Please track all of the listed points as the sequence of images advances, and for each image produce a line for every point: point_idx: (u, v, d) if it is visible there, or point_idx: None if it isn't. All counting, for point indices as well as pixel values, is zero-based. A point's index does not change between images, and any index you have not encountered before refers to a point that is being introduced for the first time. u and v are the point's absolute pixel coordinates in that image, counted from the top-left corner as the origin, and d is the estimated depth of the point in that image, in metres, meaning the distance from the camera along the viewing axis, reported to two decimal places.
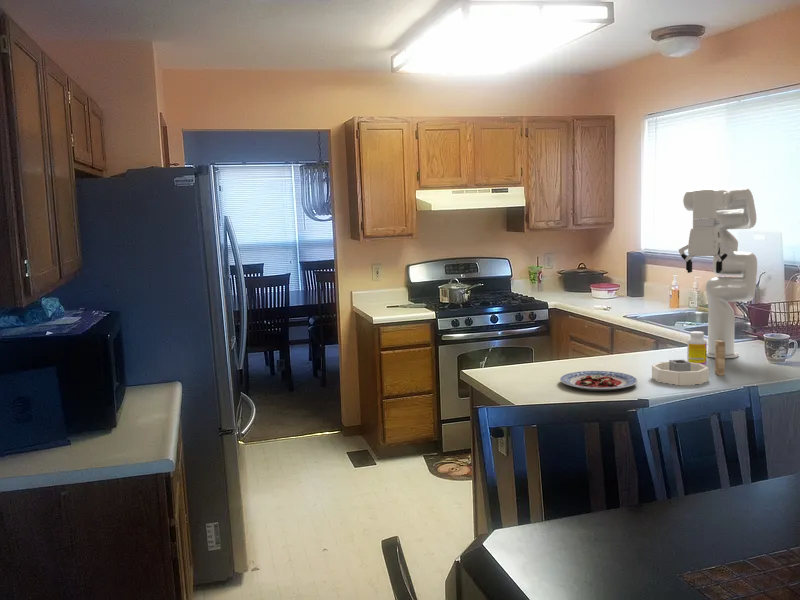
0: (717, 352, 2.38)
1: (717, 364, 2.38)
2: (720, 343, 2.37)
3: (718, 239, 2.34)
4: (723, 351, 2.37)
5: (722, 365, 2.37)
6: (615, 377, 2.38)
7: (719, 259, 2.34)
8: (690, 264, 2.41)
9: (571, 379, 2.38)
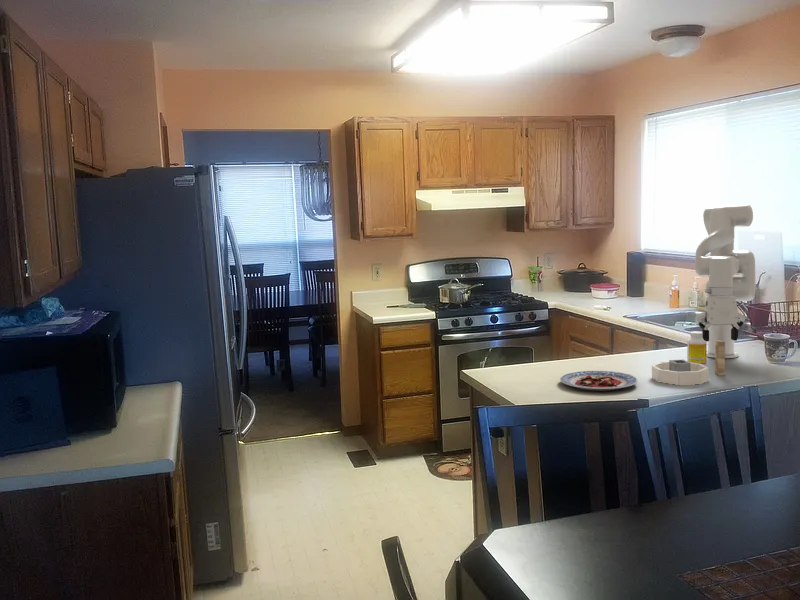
0: (717, 352, 2.38)
1: (717, 364, 2.38)
2: (720, 343, 2.37)
3: (705, 307, 2.37)
4: (723, 351, 2.37)
5: (722, 365, 2.37)
6: (615, 377, 2.38)
7: None
8: (732, 331, 2.37)
9: (571, 379, 2.38)
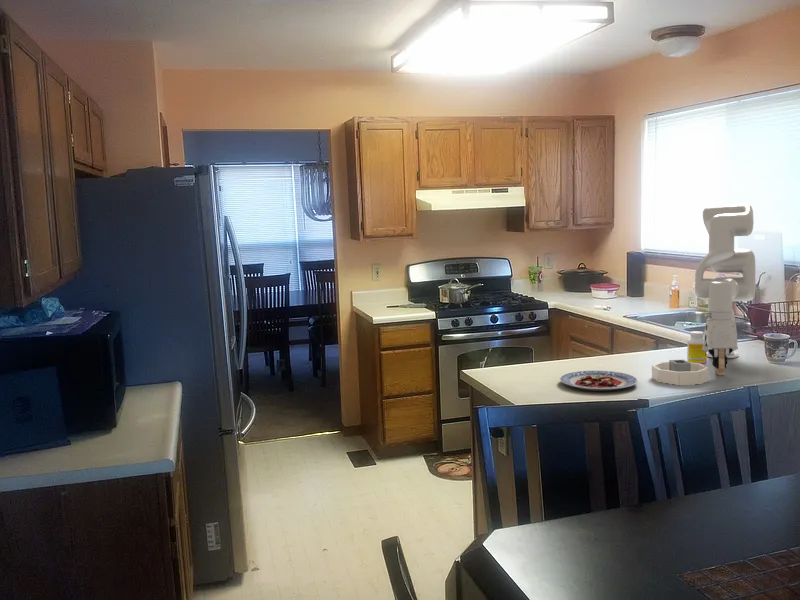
0: None
1: None
2: None
3: (705, 331, 2.38)
4: (723, 351, 2.37)
5: (722, 365, 2.37)
6: (615, 377, 2.38)
7: None
8: None
9: (571, 379, 2.38)
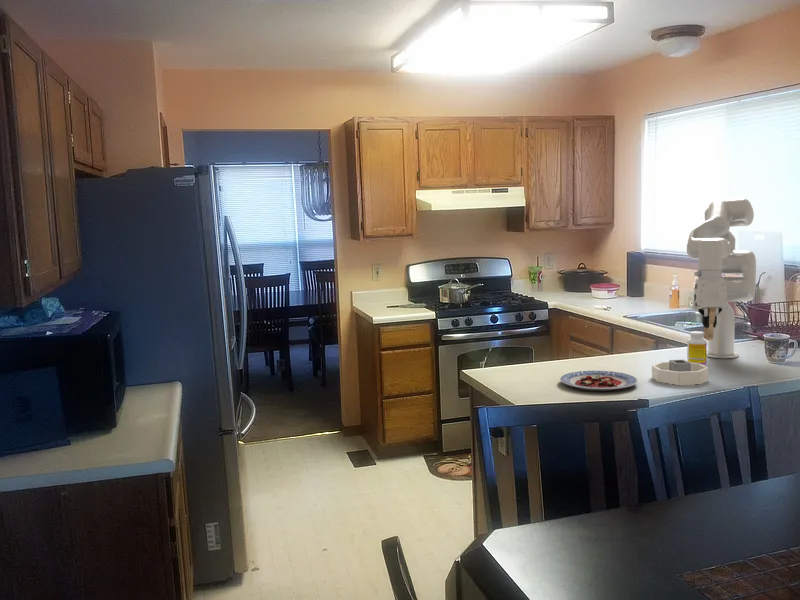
0: None
1: (706, 329, 2.36)
2: (711, 308, 2.33)
3: (694, 290, 2.35)
4: (713, 316, 2.34)
5: (711, 330, 2.35)
6: (615, 377, 2.38)
7: None
8: None
9: (571, 379, 2.38)
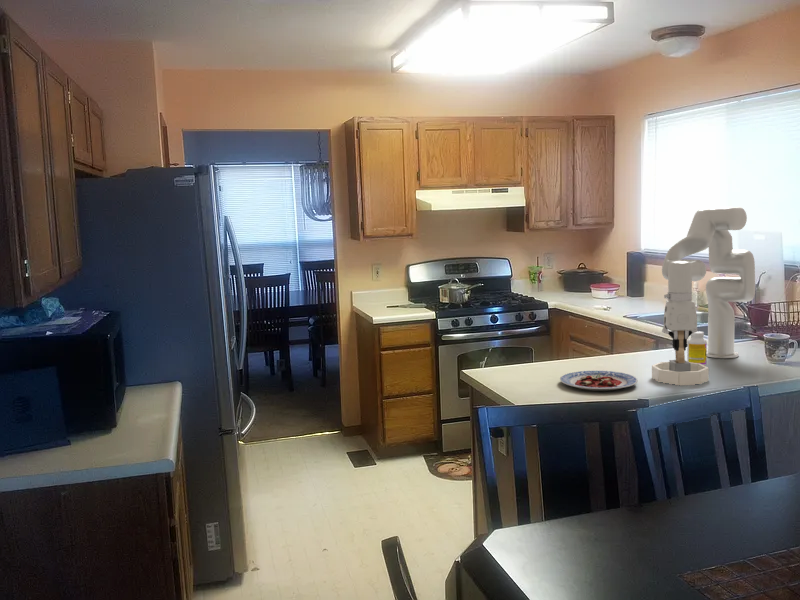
0: None
1: (677, 354, 2.33)
2: (679, 331, 2.32)
3: (664, 313, 2.33)
4: (682, 340, 2.32)
5: (682, 354, 2.32)
6: (615, 377, 2.38)
7: None
8: None
9: (571, 379, 2.38)
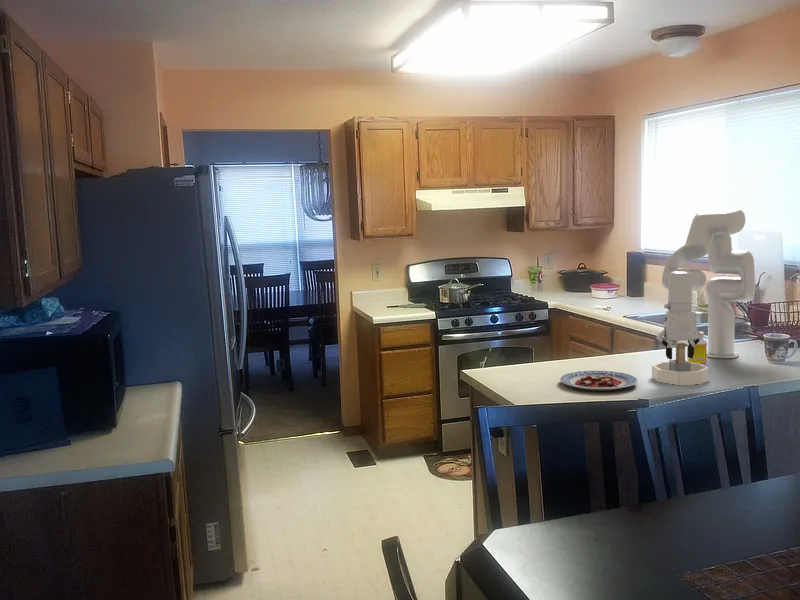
0: (677, 354, 2.34)
1: None
2: (680, 345, 2.32)
3: (664, 323, 2.33)
4: (683, 353, 2.32)
5: None
6: (615, 377, 2.38)
7: None
8: (688, 349, 2.34)
9: (571, 379, 2.38)
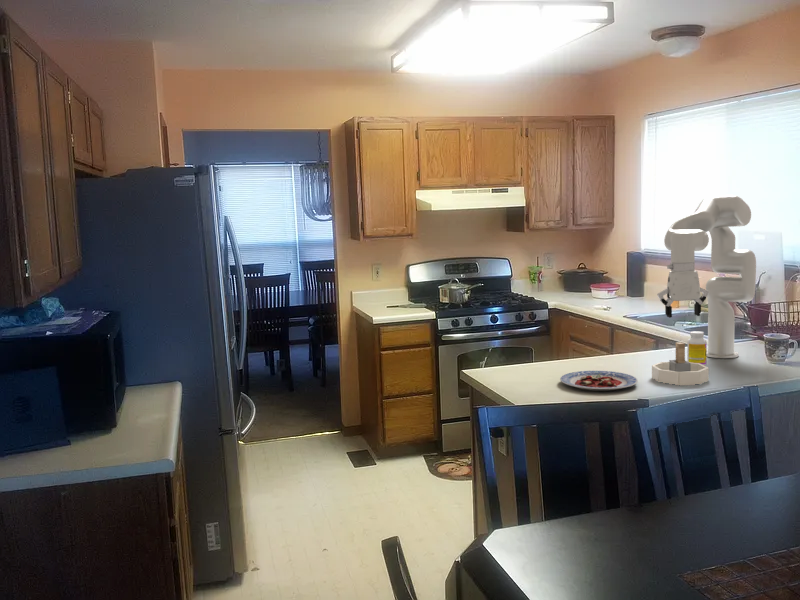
0: (677, 354, 2.34)
1: None
2: (680, 345, 2.32)
3: (668, 283, 2.34)
4: (683, 353, 2.32)
5: None
6: (616, 377, 2.38)
7: None
8: (695, 306, 2.35)
9: (571, 379, 2.38)
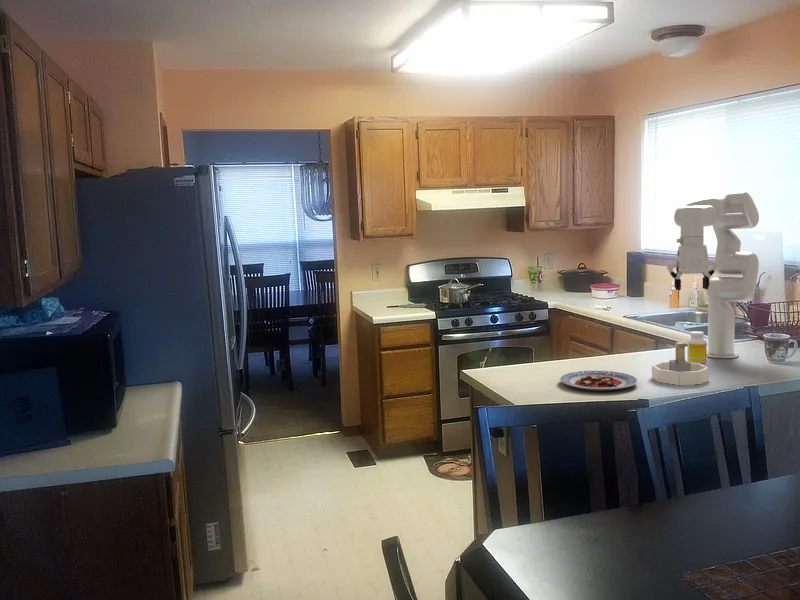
0: (677, 354, 2.34)
1: None
2: (680, 345, 2.32)
3: (677, 257, 2.41)
4: (683, 353, 2.32)
5: None
6: (616, 377, 2.38)
7: None
8: (703, 280, 2.41)
9: (571, 379, 2.38)
